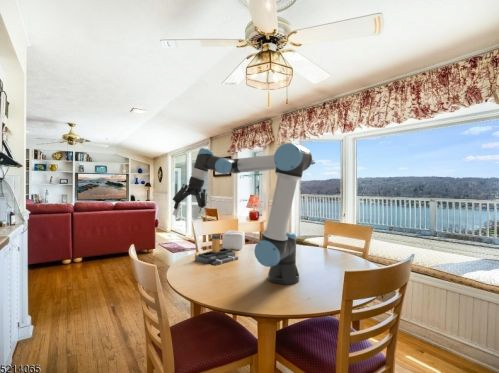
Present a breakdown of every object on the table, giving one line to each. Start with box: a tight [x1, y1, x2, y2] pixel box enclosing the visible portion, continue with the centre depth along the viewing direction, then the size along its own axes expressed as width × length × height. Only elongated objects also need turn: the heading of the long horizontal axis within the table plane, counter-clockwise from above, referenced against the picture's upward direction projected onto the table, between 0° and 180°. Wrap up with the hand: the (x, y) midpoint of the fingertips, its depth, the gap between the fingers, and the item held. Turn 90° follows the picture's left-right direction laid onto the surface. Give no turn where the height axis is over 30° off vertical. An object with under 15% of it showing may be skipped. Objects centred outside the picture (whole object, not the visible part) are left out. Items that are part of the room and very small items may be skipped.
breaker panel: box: [194, 247, 236, 265], centre depth 172 cm, size 22×12×4 cm, turn 138°
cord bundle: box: [210, 255, 239, 266], centre depth 166 cm, size 18×5×2 cm, turn 138°
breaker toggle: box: [211, 234, 221, 254], centre depth 172 cm, size 4×4×11 cm
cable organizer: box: [221, 230, 246, 251], centre depth 201 cm, size 15×11×12 cm
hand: (185, 216), depth 145 cm, fingers open, 13 cm apart
